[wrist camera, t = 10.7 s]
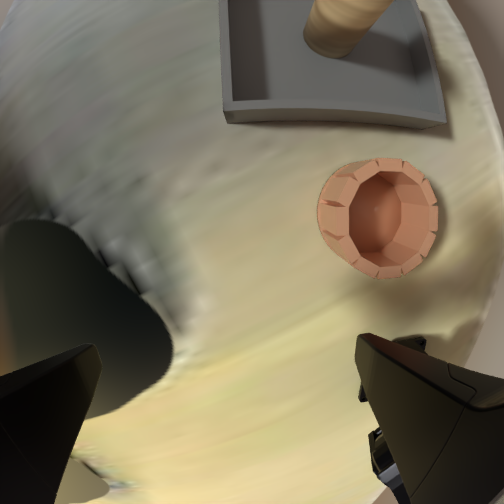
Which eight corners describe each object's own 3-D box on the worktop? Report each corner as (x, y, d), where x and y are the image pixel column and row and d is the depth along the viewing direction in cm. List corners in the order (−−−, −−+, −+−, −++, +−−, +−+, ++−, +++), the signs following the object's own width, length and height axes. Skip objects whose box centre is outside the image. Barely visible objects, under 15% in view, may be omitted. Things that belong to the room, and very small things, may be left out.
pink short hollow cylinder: (405, 258, 22) (435, 274, 17) (317, 265, 22) (334, 285, 17) (406, 163, 20) (437, 160, 16) (314, 161, 20) (331, 154, 16)
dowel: (356, 61, 17) (420, -4, 7) (306, 56, 17) (345, -24, 7) (348, 21, 16) (398, -50, 7) (300, 16, 16) (328, -67, 7)
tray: (422, 129, 19) (446, 123, 16) (227, 123, 19) (223, 111, 16) (393, -1, 16) (408, -18, 13) (221, -16, 16) (218, -39, 13)
